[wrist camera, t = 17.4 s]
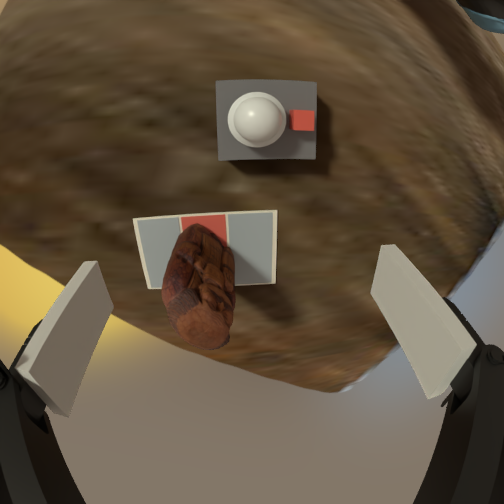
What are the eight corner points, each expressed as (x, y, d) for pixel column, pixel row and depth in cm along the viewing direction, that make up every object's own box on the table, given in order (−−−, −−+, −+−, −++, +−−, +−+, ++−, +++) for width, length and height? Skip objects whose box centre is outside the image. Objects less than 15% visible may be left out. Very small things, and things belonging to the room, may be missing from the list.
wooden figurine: (248, 265, 45) (258, 349, 29) (219, 287, 47) (216, 373, 31) (196, 213, 40) (176, 283, 24) (167, 239, 42) (136, 317, 26)
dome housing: (306, 85, 33) (322, 80, 26) (305, 153, 37) (321, 162, 31) (217, 85, 32) (214, 78, 26) (220, 155, 37) (217, 164, 30)
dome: (282, 93, 29) (291, 90, 24) (282, 144, 32) (291, 150, 27) (227, 94, 28) (226, 90, 24) (228, 145, 31) (228, 151, 27)
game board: (277, 209, 41) (277, 210, 41) (275, 282, 47) (275, 283, 47) (133, 218, 40) (132, 219, 40) (148, 288, 46) (148, 289, 46)
